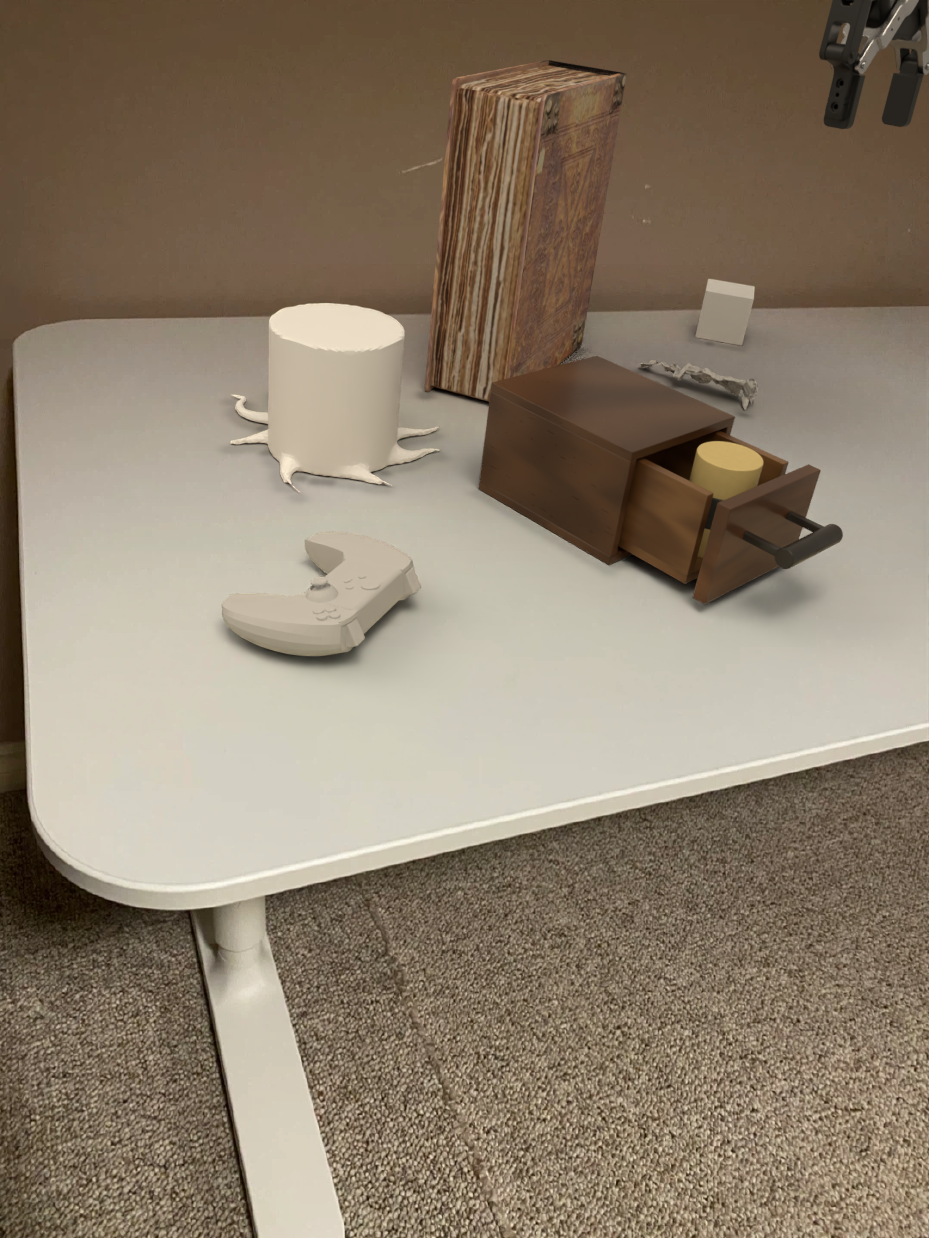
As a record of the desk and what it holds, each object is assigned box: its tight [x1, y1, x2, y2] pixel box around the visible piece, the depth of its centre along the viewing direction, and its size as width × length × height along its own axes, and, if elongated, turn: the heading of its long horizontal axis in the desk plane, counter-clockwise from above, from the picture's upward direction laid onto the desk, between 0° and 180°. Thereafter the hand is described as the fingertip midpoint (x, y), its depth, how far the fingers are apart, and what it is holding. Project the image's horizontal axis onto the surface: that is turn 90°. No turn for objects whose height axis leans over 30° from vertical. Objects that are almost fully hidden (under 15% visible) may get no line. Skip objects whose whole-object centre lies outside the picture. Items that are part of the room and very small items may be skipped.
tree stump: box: [229, 302, 441, 493], centre depth 99 cm, size 25×20×12 cm
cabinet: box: [478, 355, 736, 566], centre depth 94 cm, size 16×14×10 cm
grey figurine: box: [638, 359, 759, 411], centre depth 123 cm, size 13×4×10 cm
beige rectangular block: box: [695, 278, 755, 347], centre depth 139 cm, size 6×6×6 cm
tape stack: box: [689, 441, 764, 558], centre depth 86 cm, size 5×5×8 cm
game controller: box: [221, 531, 422, 657], centre depth 77 cm, size 14×4×10 cm
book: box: [424, 59, 627, 403], centre depth 115 cm, size 25×9×30 cm, turn 156°
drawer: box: [618, 430, 844, 605], centre depth 87 cm, size 19×12×8 cm, turn 43°
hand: (866, 126), depth 85 cm, fingers open, 8 cm apart
